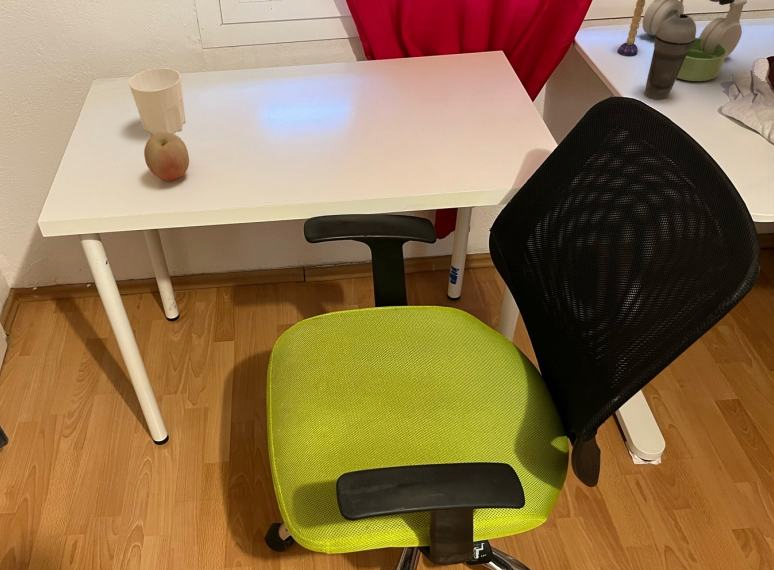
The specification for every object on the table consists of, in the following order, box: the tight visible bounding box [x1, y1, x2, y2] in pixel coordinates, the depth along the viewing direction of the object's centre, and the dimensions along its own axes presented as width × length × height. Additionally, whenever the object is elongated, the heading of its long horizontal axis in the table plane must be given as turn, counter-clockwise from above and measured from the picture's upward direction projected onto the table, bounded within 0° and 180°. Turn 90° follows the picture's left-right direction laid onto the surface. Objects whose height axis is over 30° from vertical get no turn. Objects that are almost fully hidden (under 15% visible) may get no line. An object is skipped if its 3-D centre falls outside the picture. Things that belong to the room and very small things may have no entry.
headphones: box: [642, 0, 748, 59], centre depth 147 cm, size 20×8×19 cm, turn 28°
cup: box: [128, 67, 187, 136], centre depth 137 cm, size 10×10×10 cm
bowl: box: [676, 37, 727, 82], centre depth 144 cm, size 11×11×5 cm
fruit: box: [143, 132, 190, 182], centre depth 124 cm, size 8×8×8 cm
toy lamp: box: [617, 0, 646, 57], centre depth 148 cm, size 5×5×17 cm
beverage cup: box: [644, 0, 697, 100], centre depth 133 cm, size 7×7×20 cm
